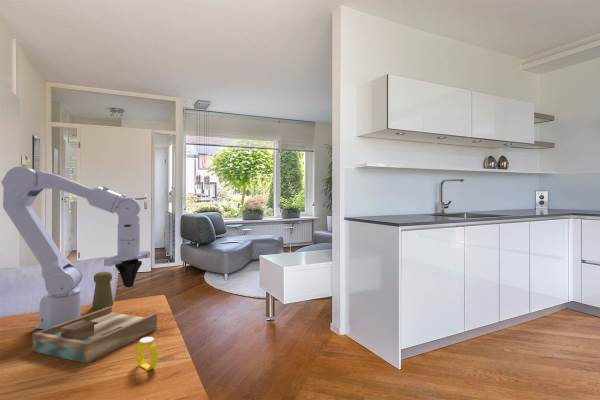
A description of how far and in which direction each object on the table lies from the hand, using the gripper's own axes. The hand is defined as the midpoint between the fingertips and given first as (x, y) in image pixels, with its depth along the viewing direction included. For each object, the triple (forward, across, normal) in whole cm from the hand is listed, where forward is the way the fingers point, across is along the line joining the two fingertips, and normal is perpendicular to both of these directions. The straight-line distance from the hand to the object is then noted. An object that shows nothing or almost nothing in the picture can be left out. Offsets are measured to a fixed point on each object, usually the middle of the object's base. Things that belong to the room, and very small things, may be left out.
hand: (128, 286), depth 96 cm
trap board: (+9, -13, -4) cm, 17 cm away
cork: (+10, +6, +17) cm, 20 cm away
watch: (+10, -20, -26) cm, 34 cm away
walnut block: (+7, -19, -4) cm, 20 cm away
